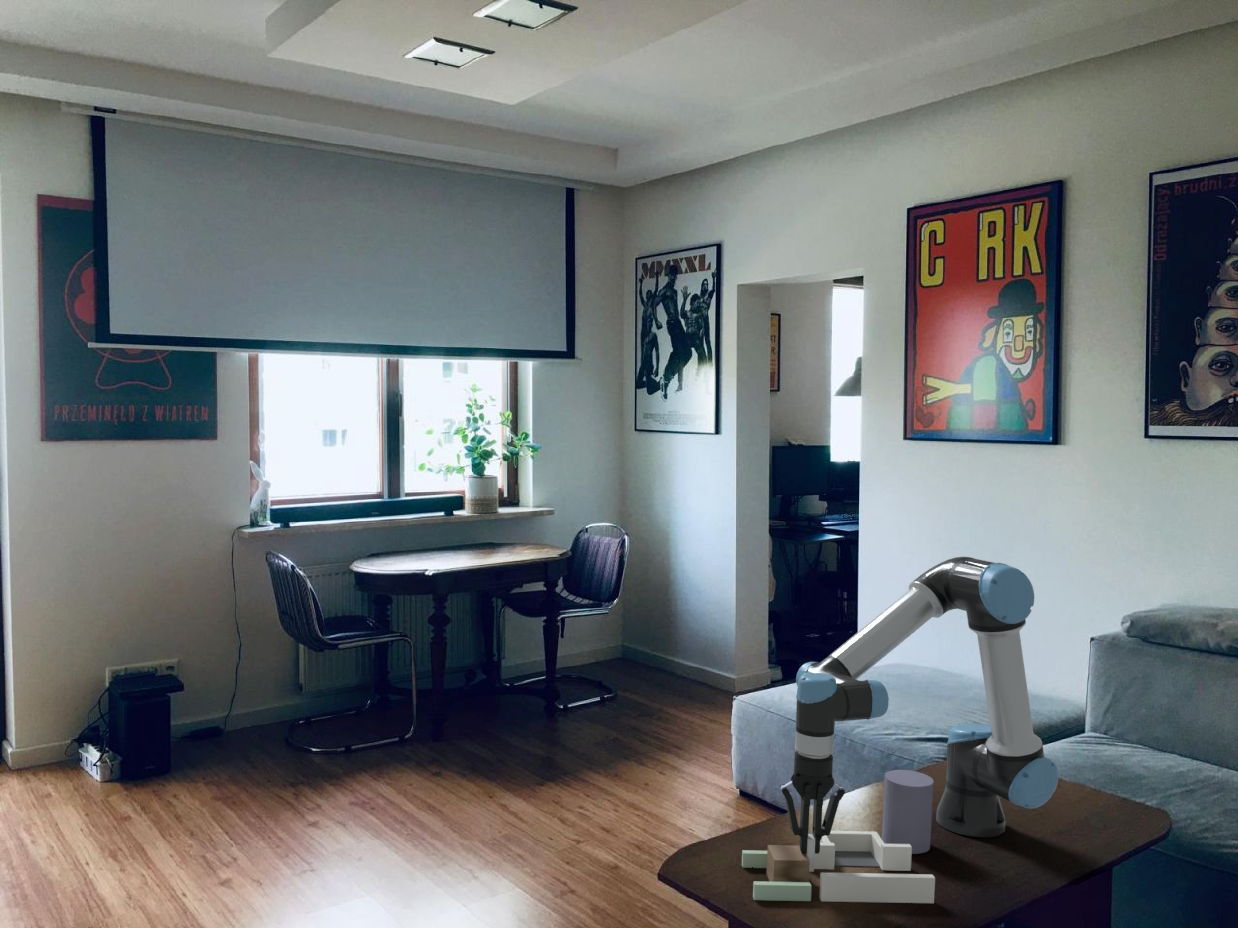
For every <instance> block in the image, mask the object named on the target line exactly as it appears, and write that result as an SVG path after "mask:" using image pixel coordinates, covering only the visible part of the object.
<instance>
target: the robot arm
mask: <svg viewBox="0 0 1238 928" xmlns="http://www.w3.org/2000/svg"><path fill="white" fill-rule="evenodd" d="M1034 603H1035V591H1034V587H1033V583H1032V582H1031V580H1030V579H1029V577H1028V576H1027V575H1026V574H1025V572H1023V571H1021V570H1020V569H1019V568H1017V567H1014V566H1011V565H1008V564H1006V563H1002V562H993V561H988V560H984V559H977V558H974V557H970V556H959V557H958V556H957V557H956V556H955V557H952V558H950V559H947V560H945V561H942V562H940V563H938V564H935V565H934V566H932V567H931V568H929V569H928V570H926V571H924V572H923V573H921V574H920V575H919V576H918V577H916V578H915V579H914V580H913V581H912V582H911V583H909V585H908V591H907V592H905V593H904V594H903V595H901V596H900V597H899V598H898V599H896V600H895V601H894V602H893V603H892V604H890V605H889V606H888V607H887V608H886V609H884V611H882V612H880V614H878V615H877V616H875V618H873V619H872V620H871V621H870V622H869V623H867V624H866V625H865V626H863V627H862V628H861V629H860V630H858V631H857V632H856V633H855V634H854V635H852V636H851V637H850V638H849V639H847V640H846V642H844V643H842V645H840V646H839V647H838V648H836V649H835V650H834V651H832V653H831V654H829V655H828V656H826V658H824V659H823V660H822V661H820V662H819V661H809V662H805V663H803V664H802V665H801V666H800V667H799V669H798V671H797V673H796V677H795V681H796V687H797V689H796V690H797V691H796V697H795V699H796V708H795V709H796V713H795V714H796V715H795V717H796V718H795V736H794V737H795V738H794V739H795V740H794V748H795V752H794V758H793V774H792V775H791V778H790V781H788V782H787V783H786V784H784V783H781V784H780V785H779V789H780V791H781V794H783V796H784V799H785V805H786V811H787V815H788V821H789V825H790V829H791V831H792V832H793V835H794V836H798V837H799V846H800V851H801V853H806V855H807V857H808V859H809V861H810V863H809V873H813V872H815V869H814V858H815V854H819V852H820V840H821V839H822V836H825V835H826V836H828V835H830V832H831V831H832V828H833V825H834V821H835V818H836V815H837V811H838V808H839V804H840V801H841V800H842V798H843V797H844V795H845V794H846V791H845V789H844V788H843V786H842V785H841V784H837V783H836V782H835V779H834V777H833V765H834V757H833V755H832V754H833V753H834V742H835V741H834V737H835V724H836V723H835V722H839V723H840V722H848V721H849V722H850V721H859V720H869V721H870V720H871V719H875V718H881V717H883V716H884V715H885V714H886V712H887V711H888V709H889V700H890V699H889V693H888V691H887V688H886V687H885V685H884V683H882V682H881V681H879V680H877V679H876V680H874V679H873V680H871V679H870V680H869V679H865V680H859V678H861V677H862V675H864V674H865V673H867V672H868V671H869V670H870V669H871V668H873V666H875V665H876V664H878V663H879V662H880V661H881V660H882V659H884V657H886V656H887V655H888V654H890V653H891V652H893V650H895V649H896V648H897V647H899V645H901V644H902V643H903V642H904V641H905V640H907V639H908V638H909V637H910V636H911V635H912V634H914V633H915V632H916V631H918V630H919V629H920V628H921V627H922V626H924V625H925V624H926V623H927V622H928V621H930V620H931V619H932V618H936V619H937V618H938V619H939V618H941V617H942V616H943V615H944V614H946V613H947V612H950V611H952V610H962V611H965V612H966V618H967V624H968V628H969V629H970V630H971V631H972V632H973V633H975V634H976V636H977V642H978V647H979V655H980V662H981V669H982V677H983V682H984V683H983V684H984V691H985V698H986V704H987V710H988V711H987V712H988V718H989V725H988V724H979V723H965V724H958V725H954V726H953V727H951V728H950V730H949V732H948V739H947V742H946V744H947V745H946V747H947V749H946V751H947V753H946V770H945V771H946V772H945V774H946V775H945V776H946V777H945V780H946V781H945V788H944V791H943V793H942V797H940V801H939V803H938V806H937V809H936V815H935V817H936V819H935V821H936V822H937V824H938V825H939V826H940V827H942V828H944V829H945V830H948V831H949V832H953V833H955V834H958V835H963V836H967V837H972V838H994V837H998V836H1000V834H1001V835H1002V833H1003V832H1004V833H1005V831H1006V817H1005V814H1004V810H1003V806H1002V803H1001V800H1000V797H1001V798H1002V799H1005V800H1006V801H1008V802H1010V803H1011V804H1013V805H1016V806H1020V807H1022V808H1025V809H1028V810H1030V809H1037V808H1039V807H1042V806H1043V805H1045V804H1046V803H1047V802H1048V801H1049V800H1050V799H1051V798H1052V796H1053V794H1054V793H1055V791H1056V789H1057V786H1058V784H1059V783H1058V782H1059V770H1058V767H1057V765H1056V764H1055V763H1054V761H1052V760H1051V758H1048V757H1045V753H1044V746H1043V741H1042V739H1041V738H1040V737H1039V736H1038V735H1036V734H1035V733H1034V728H1033V727H1034V726H1033V721H1032V715H1031V714H1032V713H1031V706H1030V699H1029V692H1028V684H1027V678H1026V676H1027V675H1026V669H1025V661H1024V655H1023V649H1022V641H1021V640H1022V639H1021V633H1020V631H1021V630H1022V629H1023V628H1024V627H1025V625H1026V623H1027V622H1026V619H1027V618H1028V617H1029V615H1030V614H1031V613H1032V609H1031V608H1032V607H1034ZM794 789H795V790H796V792H797V794H798V795H799V797H800V815H799V816H800V817H799V818H800V819H799V823H798V818H797V814H796V813H797V811H796V807H795V803H794V799H793V796H792V795H793V794H794ZM829 792H830V797H829V800H828V804H827V806H826V810H825V814H824V818H823V805H824V798H825V797H826V796H827V795H828V793H829ZM811 800H813V807H812V827H811V829H812V831H811V832H812V833H809V828H810V827H809V826H810V807H811ZM822 820H823V821H822ZM1004 833H1003V834H1004Z"/></svg>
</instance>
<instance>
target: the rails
mask: <svg viewBox="0 0 1238 928" xmlns="http://www.w3.org/2000/svg"><path fill="white" fill-rule="evenodd" d="M741 867H742V868H743V869H747V868H748V869H749V868H750V869H751V868H752V867H753V868H752V869H767V850H755V849H753V850H752V849H751V850H749V849H747V850H745V849H742V850H741ZM752 886H753V887H752V898H753V901H780V902H781V901H784V902H785V901H786V902H787V901H789V902H795V901H796V902H812V887H813V886H812V884H811V882H810V881H809V882H770V881H757V880H756V881H755V880H754V881H753V883H752Z"/></svg>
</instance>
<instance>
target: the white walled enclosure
mask: <svg viewBox="0 0 1238 928" xmlns="http://www.w3.org/2000/svg"><path fill="white" fill-rule="evenodd" d="M912 855H913V854H912V847H911V845H910V844H885V843H884V842H883V840H882V837H881V836H880V834H879V833H878V832H877V831H867V830H865V831H863V830H861V831H860V830H831V832H830V835H828V836H826V835H825V836H822V839H821V840H820V852H819V854H815V858H814V870H835V867H857V868H859V867H862V868H863V867H865V868H880V869H881V871H896V872H897V871H901V872H903V871H908V872H909V871H910V872H911V871H912V870H911V869H912ZM935 889H936V877H935V876H934V875H933V874H931V873H930V874H924V873H923V874H922V873H921V874H920V873H919V874H917V873H875V872H874V873H873V872H872V873H870V872H869V873H867V872H865V873H864V872H857V873H856V872H826V871H825V872H820V875H819V894H818V895H819V896H818V898H819V900H820V902H833V903H834V902H835V903H836V902H838V903H839V902H841V903H842V902H844V903H845V902H846V903H847V902H848V903H892V904H893V903H895V904H896V903H897V904H899V903H900V904H902V903H903V904H906V903H907V904H911V903H912V904H935Z"/></svg>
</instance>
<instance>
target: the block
mask: <svg viewBox="0 0 1238 928" xmlns="http://www.w3.org/2000/svg"><path fill="white" fill-rule="evenodd" d="M766 851H767V868H766V876H767V878H768V882H810V872H809V863H810V861H809V859H808V857H807V855H806V853H801V851H800V845H793V844H792V845H791V844H790V845H787V844H786V845H785V844H783V845H782V844H781V845H780V844H767V849H766Z"/></svg>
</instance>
